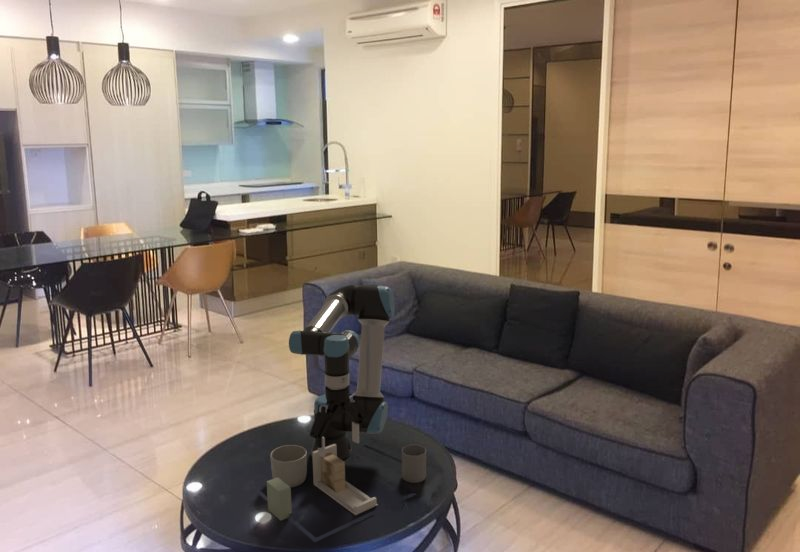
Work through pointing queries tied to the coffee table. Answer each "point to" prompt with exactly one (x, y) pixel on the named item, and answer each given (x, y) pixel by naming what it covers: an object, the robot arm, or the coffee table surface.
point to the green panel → (279, 498)
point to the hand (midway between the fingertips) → (339, 448)
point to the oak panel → (333, 472)
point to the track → (348, 496)
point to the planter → (289, 464)
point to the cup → (413, 463)
